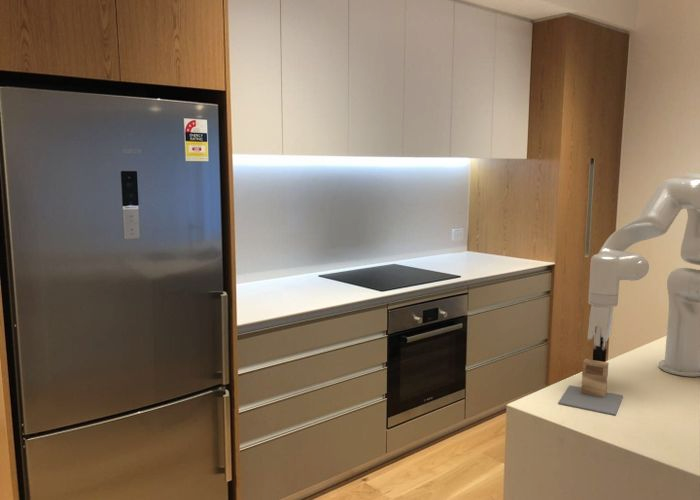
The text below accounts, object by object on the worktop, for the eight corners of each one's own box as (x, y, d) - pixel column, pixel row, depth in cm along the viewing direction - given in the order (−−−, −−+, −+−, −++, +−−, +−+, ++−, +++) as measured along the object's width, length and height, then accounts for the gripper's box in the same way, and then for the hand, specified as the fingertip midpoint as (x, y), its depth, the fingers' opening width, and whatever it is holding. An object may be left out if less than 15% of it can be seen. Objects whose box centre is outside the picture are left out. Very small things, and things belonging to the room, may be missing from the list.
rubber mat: (569, 386, 167) (569, 385, 167) (623, 396, 160) (623, 395, 160) (558, 403, 155) (558, 402, 155) (615, 415, 148) (615, 414, 148)
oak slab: (583, 389, 164) (585, 358, 162) (606, 394, 160) (608, 362, 159) (581, 393, 161) (582, 361, 160) (604, 397, 158) (606, 365, 157)
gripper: (593, 292, 170) (589, 352, 173) (583, 302, 158) (579, 367, 161) (621, 295, 166) (617, 357, 169) (613, 306, 154) (609, 373, 157)
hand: (599, 362), depth 165 cm, fingers closed
